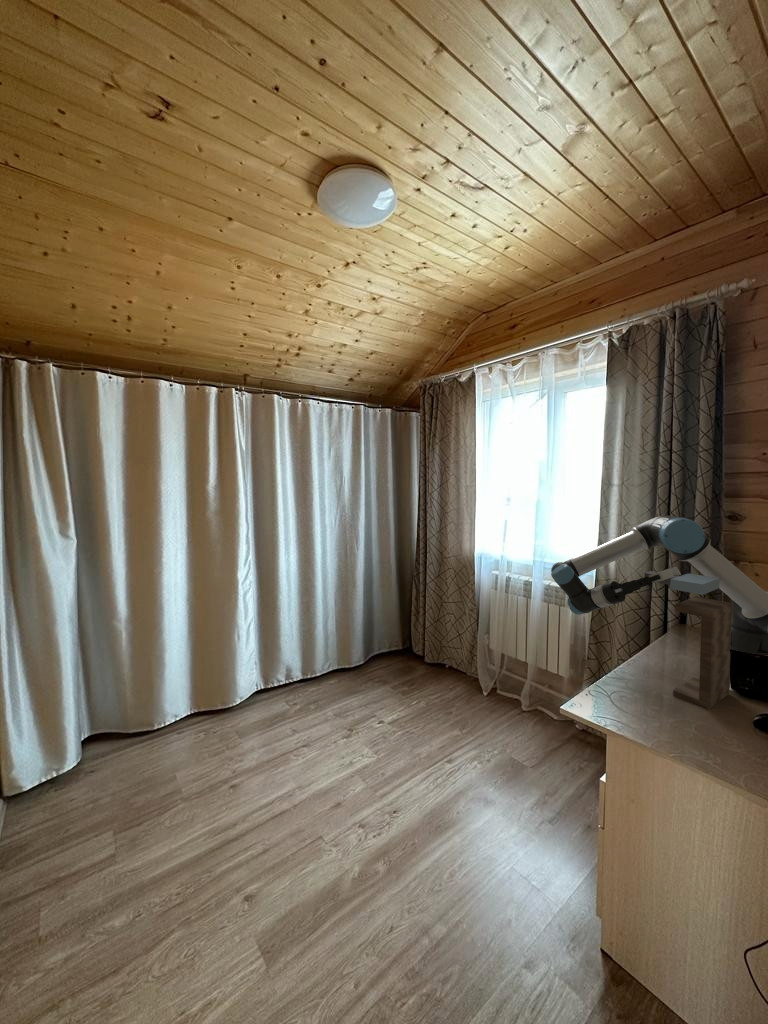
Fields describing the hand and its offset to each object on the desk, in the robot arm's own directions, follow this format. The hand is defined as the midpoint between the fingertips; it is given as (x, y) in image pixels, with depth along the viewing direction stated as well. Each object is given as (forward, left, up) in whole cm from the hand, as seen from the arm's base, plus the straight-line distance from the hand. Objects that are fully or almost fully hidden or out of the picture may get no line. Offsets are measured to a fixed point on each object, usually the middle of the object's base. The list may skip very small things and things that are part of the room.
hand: (674, 571), depth 124 cm
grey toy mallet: (0, +1, -4) cm, 4 cm away
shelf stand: (0, +8, -36) cm, 37 cm away
